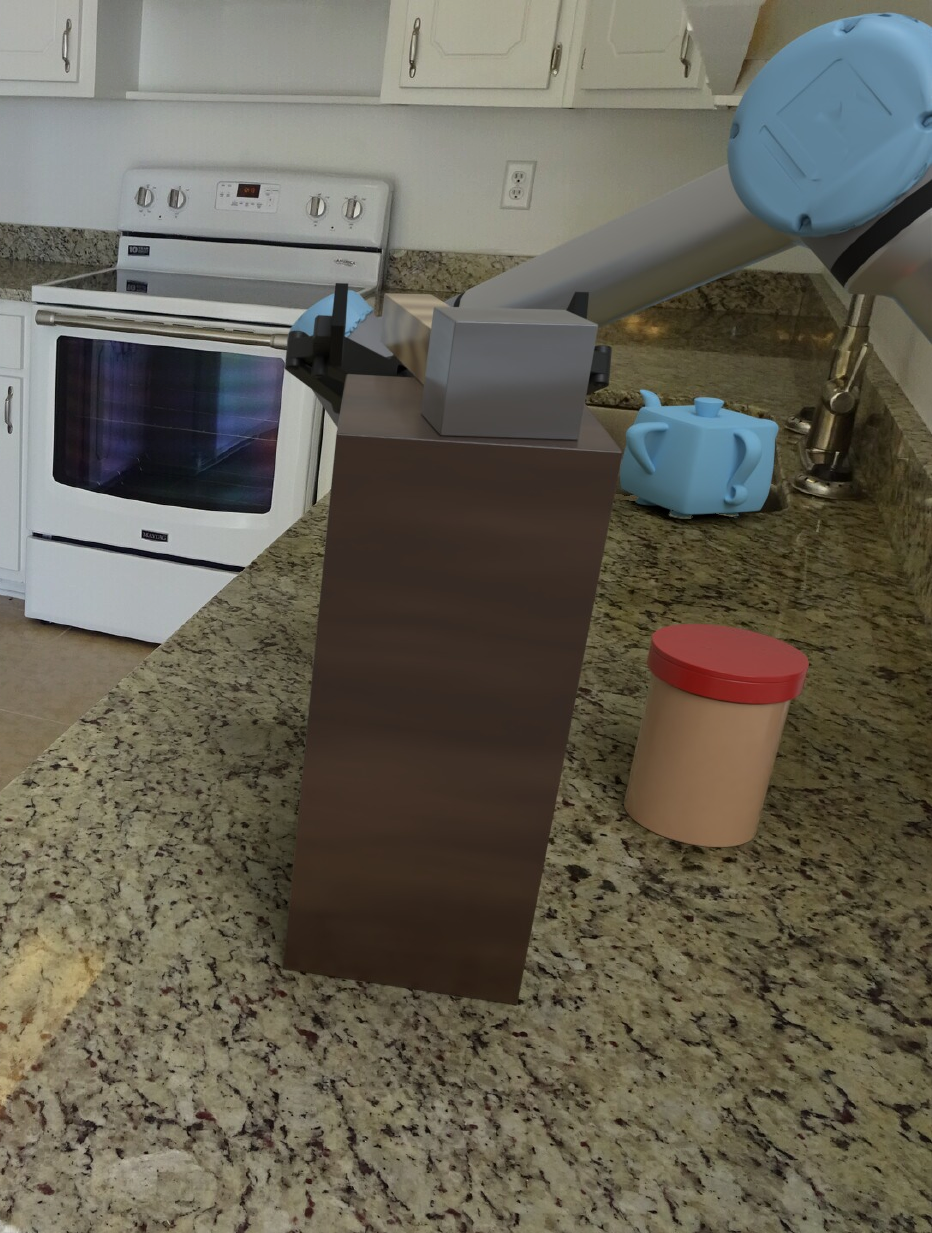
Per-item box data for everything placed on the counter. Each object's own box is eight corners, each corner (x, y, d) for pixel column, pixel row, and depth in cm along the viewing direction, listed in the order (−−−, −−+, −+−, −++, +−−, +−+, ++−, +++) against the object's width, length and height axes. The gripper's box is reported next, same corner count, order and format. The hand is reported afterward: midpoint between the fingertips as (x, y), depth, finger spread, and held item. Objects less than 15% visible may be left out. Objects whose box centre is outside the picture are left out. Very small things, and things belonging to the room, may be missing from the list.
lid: (795, 662, 81) (802, 636, 80) (811, 715, 73) (818, 687, 73) (646, 640, 84) (651, 615, 83) (646, 688, 77) (652, 661, 76)
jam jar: (751, 801, 85) (792, 644, 80) (761, 858, 78) (806, 690, 73) (624, 777, 88) (656, 625, 83) (622, 830, 81) (657, 668, 76)
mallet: (578, 440, 55) (599, 324, 53) (439, 436, 55) (455, 320, 53) (448, 342, 82) (459, 262, 80) (356, 339, 82) (364, 260, 80)
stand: (517, 1005, 64) (623, 451, 53) (282, 969, 67) (336, 433, 56) (492, 847, 79) (572, 385, 67) (300, 822, 81) (346, 373, 70)
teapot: (776, 507, 154) (803, 398, 149) (745, 536, 142) (772, 418, 137) (623, 482, 164) (643, 379, 159) (582, 507, 153) (602, 397, 148)
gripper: (598, 485, 91) (681, 382, 70) (254, 462, 96) (238, 359, 76) (606, 386, 92) (691, 255, 71) (264, 369, 97) (251, 242, 76)
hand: (457, 309), depth 73 cm, fingers open, 13 cm apart
